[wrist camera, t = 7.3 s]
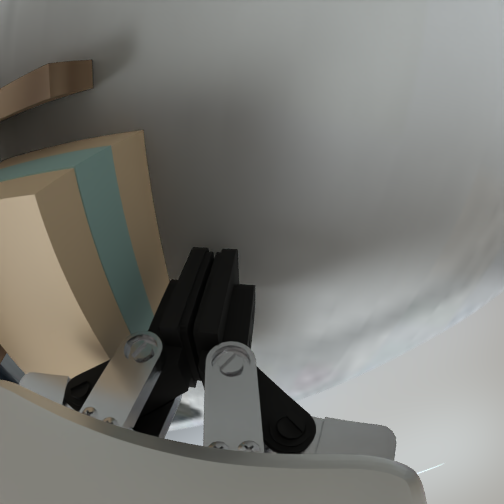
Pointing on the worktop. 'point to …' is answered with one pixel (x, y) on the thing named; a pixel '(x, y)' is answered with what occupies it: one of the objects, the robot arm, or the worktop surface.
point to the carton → (77, 253)
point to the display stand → (44, 91)
